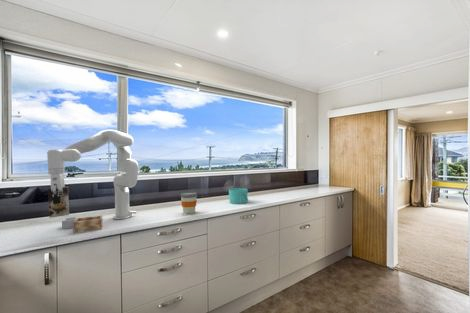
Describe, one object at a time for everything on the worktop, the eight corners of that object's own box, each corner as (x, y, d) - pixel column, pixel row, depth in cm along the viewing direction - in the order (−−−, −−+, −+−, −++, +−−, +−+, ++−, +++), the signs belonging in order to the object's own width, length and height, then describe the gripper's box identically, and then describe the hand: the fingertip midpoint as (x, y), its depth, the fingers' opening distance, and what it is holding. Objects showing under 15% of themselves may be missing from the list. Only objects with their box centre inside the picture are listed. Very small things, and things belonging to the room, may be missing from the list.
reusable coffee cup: (200, 211, 184) (200, 192, 184) (190, 214, 172) (190, 194, 172) (187, 210, 189) (187, 191, 189) (177, 213, 178) (177, 194, 178)
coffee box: (49, 218, 126) (47, 189, 126) (49, 215, 132) (48, 187, 131) (69, 215, 132) (68, 187, 131) (69, 212, 137) (68, 185, 136)
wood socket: (102, 224, 150) (102, 215, 150) (101, 229, 140) (101, 219, 140) (76, 227, 143) (76, 218, 143) (73, 232, 133) (73, 222, 133)
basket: (227, 201, 226) (227, 188, 226) (245, 200, 230) (245, 187, 230) (230, 204, 207) (230, 190, 208) (250, 203, 211) (250, 189, 211)
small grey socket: (78, 224, 151) (78, 216, 151) (76, 227, 145) (76, 219, 145) (64, 225, 148) (64, 218, 148) (61, 229, 141) (61, 220, 141)
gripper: (61, 171, 125) (63, 204, 125) (67, 169, 140) (69, 198, 141) (44, 172, 121) (45, 206, 122) (52, 170, 137) (53, 200, 137)
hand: (58, 202), depth 131 cm, fingers closed on coffee box, 7 cm apart
